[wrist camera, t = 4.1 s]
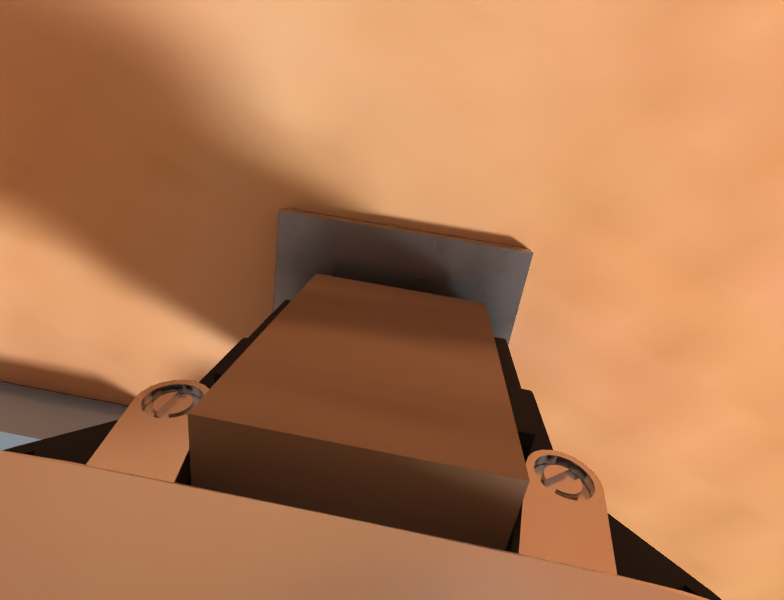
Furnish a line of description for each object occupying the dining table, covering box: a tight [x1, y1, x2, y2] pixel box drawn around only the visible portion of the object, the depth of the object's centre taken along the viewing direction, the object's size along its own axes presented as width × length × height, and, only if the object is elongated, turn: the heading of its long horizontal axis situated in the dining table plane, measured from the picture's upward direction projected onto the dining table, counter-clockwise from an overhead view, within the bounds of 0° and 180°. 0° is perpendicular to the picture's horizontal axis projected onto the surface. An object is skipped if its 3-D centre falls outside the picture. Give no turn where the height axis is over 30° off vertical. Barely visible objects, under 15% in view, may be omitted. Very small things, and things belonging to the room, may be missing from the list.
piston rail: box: [273, 208, 533, 344], centre depth 15 cm, size 18×7×1 cm, turn 172°
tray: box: [0, 382, 129, 451], centre depth 16 cm, size 11×11×2 cm
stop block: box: [187, 274, 530, 551], centre depth 9 cm, size 4×4×6 cm
